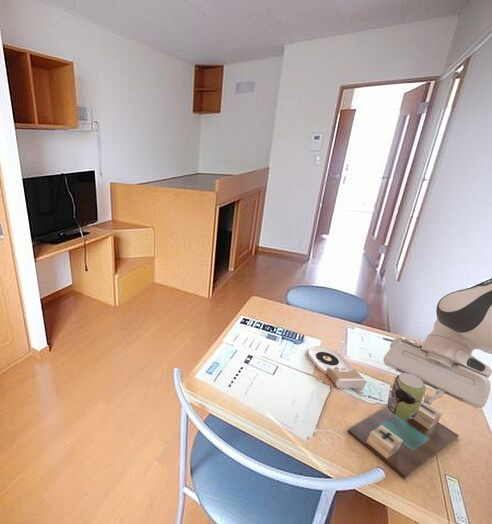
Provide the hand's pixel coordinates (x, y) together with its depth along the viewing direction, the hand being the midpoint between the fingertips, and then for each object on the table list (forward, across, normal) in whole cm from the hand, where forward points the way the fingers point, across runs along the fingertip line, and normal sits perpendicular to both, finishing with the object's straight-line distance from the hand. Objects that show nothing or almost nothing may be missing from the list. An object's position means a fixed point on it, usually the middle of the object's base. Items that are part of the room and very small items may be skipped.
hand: (419, 399), depth 79 cm
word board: (+9, 0, +10) cm, 14 cm away
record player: (0, -24, +19) cm, 31 cm away
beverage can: (+5, -1, +4) cm, 6 cm away
